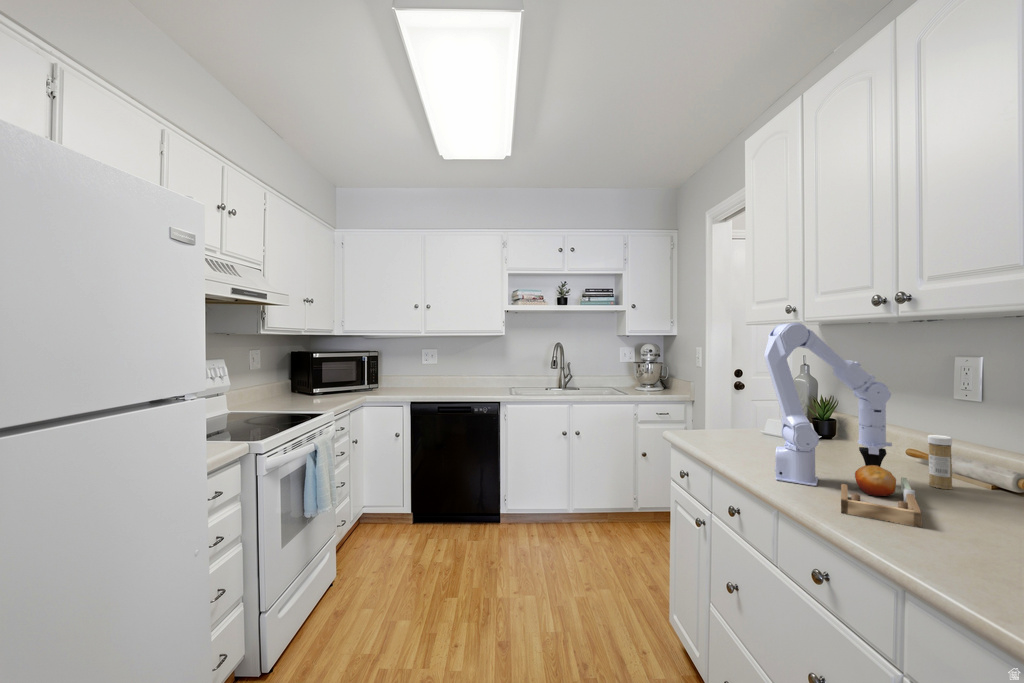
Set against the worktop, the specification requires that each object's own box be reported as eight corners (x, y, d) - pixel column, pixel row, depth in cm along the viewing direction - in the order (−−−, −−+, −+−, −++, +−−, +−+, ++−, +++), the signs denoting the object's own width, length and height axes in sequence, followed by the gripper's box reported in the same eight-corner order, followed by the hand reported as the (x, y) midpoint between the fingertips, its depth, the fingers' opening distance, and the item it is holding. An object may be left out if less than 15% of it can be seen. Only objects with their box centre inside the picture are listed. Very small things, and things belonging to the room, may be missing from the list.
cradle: (841, 513, 99) (840, 495, 99) (841, 495, 110) (841, 479, 110) (921, 527, 91) (921, 508, 91) (913, 507, 101) (913, 490, 101)
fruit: (882, 482, 115) (890, 460, 111) (896, 507, 108) (904, 485, 104) (846, 479, 117) (852, 458, 113) (857, 503, 111) (863, 482, 107)
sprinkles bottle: (954, 487, 114) (954, 436, 114) (950, 491, 112) (949, 438, 112) (931, 483, 118) (930, 433, 118) (926, 486, 115) (925, 435, 115)
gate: (915, 506, 101) (915, 492, 101) (904, 504, 103) (904, 490, 103) (909, 490, 112) (908, 477, 112) (898, 489, 113) (898, 476, 113)
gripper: (894, 431, 109) (894, 485, 109) (889, 422, 121) (890, 471, 121) (858, 428, 114) (859, 480, 114) (856, 419, 125) (857, 467, 125)
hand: (872, 475), depth 118 cm, fingers closed
